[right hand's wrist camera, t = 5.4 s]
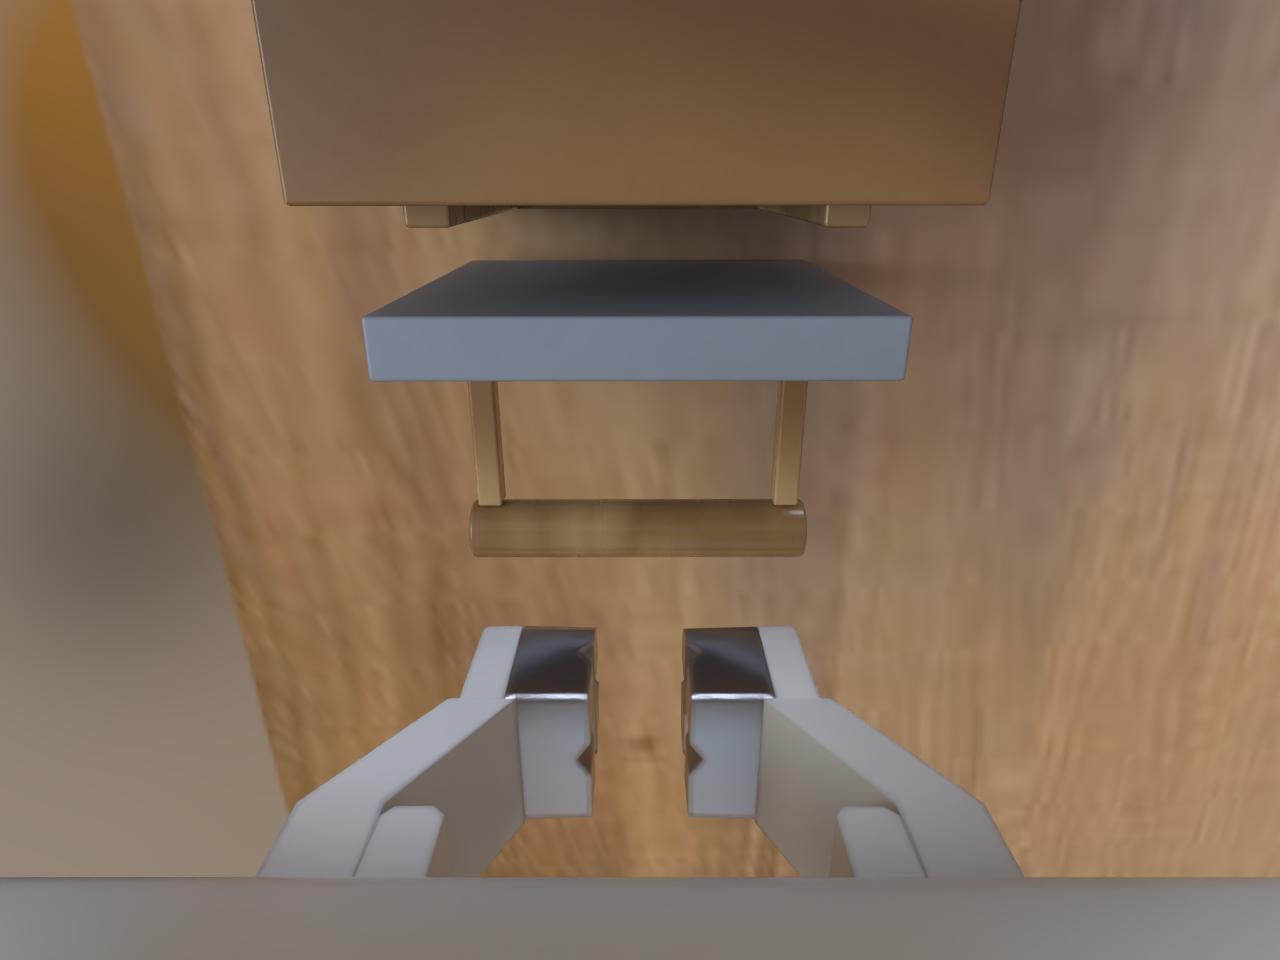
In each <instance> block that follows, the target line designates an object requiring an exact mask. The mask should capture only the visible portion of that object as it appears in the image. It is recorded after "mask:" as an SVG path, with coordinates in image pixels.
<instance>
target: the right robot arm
mask: <svg viewBox="0 0 1280 960" xmlns="http://www.w3.org/2000/svg"><path fill="white" fill-rule="evenodd" d="M597 661H598V645H597V629H596V628H593V627H542V626H525V627H522V626H488V627H487V628H485V629H484V630H483V632H482V635H481V638H480V641H479V644H478V646H477V649H476V652H475V655H474V658H473V661H472V664H471V666H470V669H469V672H468V675H467V678H466V681H465V684H464V686H463V689H462V692H461V695H460V698H448V699H447V700H445V701H444V702H443V703H441V704H440V705H438V706H437V707H435V708H434V709H432V710H431V711H429V712H428V713H427V714H425V715H424V716H422V717H421V718H419V719H418V720H416V721H415V722H413V723H412V724H410V725H409V726H408V727H406V728H405V729H403V730H402V731H400V732H399V733H397V734H396V735H394V736H393V737H392V738H390V739H389V740H387V741H386V742H384V743H383V744H381V745H380V746H378V747H377V748H375V749H374V750H373V751H371V752H370V753H368V754H367V755H365V756H364V757H362V758H361V759H359V760H358V761H357V762H355V763H354V764H352V765H351V766H349V767H348V768H346V769H345V770H343V771H342V772H340V773H339V774H338V775H336V776H335V777H333V778H332V779H330V780H329V781H327V782H326V783H324V784H323V785H322V786H320V787H319V788H317V789H316V790H314V791H313V792H311V793H310V794H308V795H307V796H305V797H304V798H303V799H301V800H300V801H298V802H297V803H296V805H295V806H294V808H293V810H292V812H291V814H290V815H289V817H288V819H287V821H286V823H285V824H284V826H283V828H282V830H281V832H280V833H279V835H278V837H277V839H276V841H275V842H274V844H273V846H272V848H271V849H270V851H269V853H268V855H267V857H266V858H265V860H264V862H263V864H262V866H261V867H260V869H259V871H258V873H257V875H256V877H0V960H1280V877H1024V875H1023V873H1022V871H1021V870H1020V868H1019V866H1018V864H1017V862H1016V860H1015V859H1014V857H1013V855H1012V853H1011V851H1010V850H1009V848H1008V846H1007V844H1006V842H1005V840H1004V839H1003V837H1002V835H1001V833H1000V831H999V830H998V828H997V826H996V824H995V822H994V820H993V819H992V817H991V815H990V813H989V811H988V810H987V808H986V806H985V804H984V803H983V802H981V801H980V800H978V799H977V798H975V797H974V796H972V795H971V794H969V793H968V792H967V791H965V790H964V789H962V788H961V787H959V786H958V785H956V784H955V783H953V782H952V781H951V780H949V779H948V778H946V777H945V776H943V775H942V774H940V773H939V772H938V771H936V770H935V769H933V768H932V767H930V766H929V765H927V764H926V763H924V762H923V761H922V760H920V759H919V758H917V757H916V756H914V755H913V754H911V753H910V752H908V751H907V750H906V749H904V748H903V747H901V746H900V745H898V744H897V743H895V742H894V741H893V740H891V739H890V738H888V737H887V736H885V735H884V734H882V733H881V732H879V731H878V730H877V729H875V728H874V727H872V726H871V725H869V724H868V723H866V722H865V721H863V720H862V719H861V718H859V717H858V716H856V715H855V714H853V713H852V712H850V711H849V710H848V709H846V708H845V707H843V706H842V705H840V704H839V703H837V702H836V701H834V700H833V699H831V698H820V695H819V693H818V690H817V687H816V684H815V681H814V678H813V676H812V673H811V670H810V667H809V664H808V662H807V659H806V656H805V653H804V650H803V647H802V645H801V642H800V639H799V636H798V633H797V631H796V628H794V627H793V626H792V625H788V626H762V627H732V628H693V629H683V639H682V662H683V675H684V680H683V681H682V682H681V731H682V748H683V753H684V754H685V787H686V799H687V810H688V817H701V818H737V819H755V823H756V824H757V825H758V826H759V827H760V829H761V830H762V831H763V832H764V833H765V835H766V836H767V837H768V838H769V839H770V840H771V842H772V843H773V844H774V845H775V846H776V848H777V849H778V850H779V851H780V852H781V854H782V855H783V856H784V857H785V858H786V860H787V861H788V862H789V863H790V864H791V866H792V867H793V868H794V869H795V870H796V872H797V873H798V874H799V875H800V876H801V877H480V875H481V874H482V873H483V872H484V871H485V870H486V868H487V867H488V866H489V865H490V864H491V862H492V861H493V860H494V859H495V858H496V856H497V855H498V854H499V853H500V852H501V850H502V849H503V848H504V847H505V846H506V845H507V843H508V842H509V841H510V840H511V839H512V837H513V836H514V835H515V834H516V833H517V831H518V830H519V829H520V828H521V827H522V825H523V824H524V823H525V819H542V818H577V817H592V810H593V798H594V786H595V754H596V753H597V746H598V724H599V683H598V681H597V680H596V674H597Z"/></svg>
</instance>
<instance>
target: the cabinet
mask: <svg viewBox="0 0 1280 960" xmlns="http://www.w3.org/2000/svg"><path fill="white" fill-rule="evenodd" d="M251 2H252V8H253V14H254V20H255V26H256V33H257V39H258V45H259V51H260V57H261V63H262V69H263V75H264V81H265V87H266V93H267V99H268V105H269V111H270V118H271V124H272V130H273V136H274V142H275V148H276V154H277V160H278V166H279V172H280V178H281V184H282V190H283V197H284V201H285V204H287V205H289V206H652V205H985V204H987V203H988V202H989V199H990V193H991V187H992V180H993V174H994V168H995V162H996V155H997V149H998V143H999V136H1000V130H1001V124H1002V118H1003V111H1004V105H1005V99H1006V93H1007V86H1008V80H1009V74H1010V68H1011V61H1012V55H1013V49H1014V43H1015V36H1016V30H1017V24H1018V18H1019V11H1020V5H1021V0H251Z"/></svg>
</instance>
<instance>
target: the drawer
mask: <svg viewBox="0 0 1280 960" xmlns="http://www.w3.org/2000/svg"><path fill="white" fill-rule="evenodd" d="M604 208H760V209H764V210H767V211H771V212H774V213H778V214H782V215H785V216H789V217H792V218H796V219H800V220H803V221H807V222H811V223H814V224H818V225H821V226H825V227H866V226H868V224H869V220H870V210H871V205H652V206H403V211H404V220H405V225H406V226H407V227H409V228H448V227H451V226H455V225H458V224H462V223H466V222H469V221H473V220H477V219H480V218H484V217H488V216H491V215H495V214H499V213H502V212H506V211H509V210H513V209H604ZM362 324H363V332H364V339H365V346H366V354H367V361H368V368H369V376H370V379H371V380H372V381H468V388H469V400H470V411H471V423H472V434H473V446H474V457H475V468H476V480H477V491H478V500H476V501H475V502H474V503H473V506H472V509H471V514H470V523H469V537H470V545H471V549H472V552H473V555H474V556H476V557H799V556H801V555H803V553H804V550H805V546H806V539H807V520H806V512H805V508H804V505H803V502H802V501H801V500H799V499H798V492H799V480H800V468H801V456H802V444H803V432H804V420H805V408H806V396H807V384H808V381H901V380H904V378H905V373H906V366H907V358H908V350H909V343H910V335H911V328H912V317H911V316H909V315H907V314H906V313H904V312H902V311H900V310H898V309H896V308H894V307H892V306H890V305H888V304H886V303H884V302H882V301H881V300H879V299H877V298H875V297H873V296H871V295H869V294H867V293H865V292H863V291H861V290H859V289H857V288H856V287H854V286H852V285H850V284H848V283H846V282H844V281H842V280H840V279H838V278H836V277H834V276H832V275H831V274H829V273H827V272H825V271H823V270H821V269H819V268H817V267H815V266H813V265H811V264H809V263H807V262H806V261H803V260H642V261H471V262H469V263H467V264H465V265H463V266H461V267H459V268H458V269H456V270H454V271H452V272H450V273H448V274H446V275H444V276H442V277H440V278H438V279H436V280H434V281H432V282H430V283H428V284H426V285H425V286H423V287H421V288H419V289H417V290H415V291H413V292H411V293H409V294H407V295H405V296H403V297H401V298H399V299H397V300H395V301H394V302H392V303H390V304H388V305H386V306H384V307H382V308H380V309H378V310H376V311H374V312H372V313H370V314H368V315H366V316H364V317H363V319H362ZM497 381H778V393H777V407H776V422H775V437H774V451H773V466H772V480H771V498H772V499H505V496H506V493H505V479H504V465H503V451H502V438H501V424H500V410H499V396H498V382H497Z"/></svg>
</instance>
